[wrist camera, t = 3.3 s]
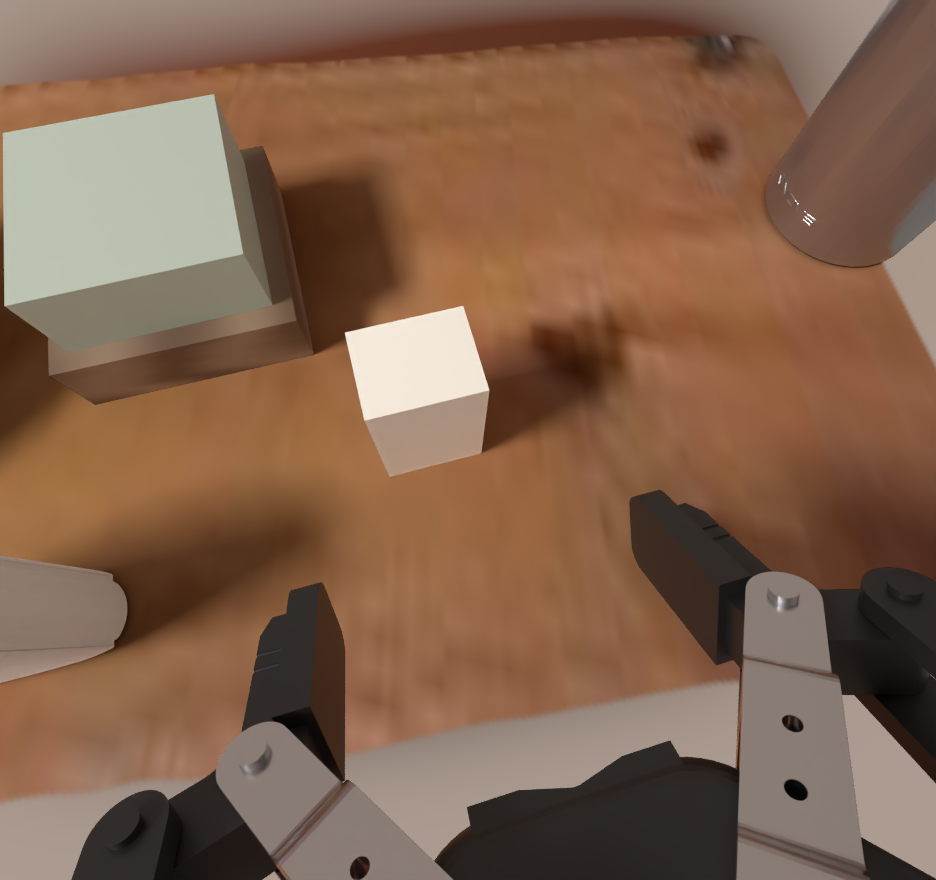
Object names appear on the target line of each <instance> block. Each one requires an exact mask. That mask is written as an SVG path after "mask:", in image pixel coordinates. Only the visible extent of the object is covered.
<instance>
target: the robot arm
mask: <svg viewBox="0 0 936 880" xmlns="http://www.w3.org/2000/svg"><path fill="white" fill-rule="evenodd" d="M765 201H766V207H767V211H768V213H769V215H770V217H771V220H772V222H773V223H774V225H775V226H776V227H777V229H778V230H779V232H780V233H781V234H782V235H783V236H784V237H785V238H786V239H787V240H788V241H789V242H790V243H791V244H793V245H794V246H796V247H797V248H798V249H800V250H801V251H803V252H804V253H806V254H808V255H810V256H812V257H814V258H817V259H819V260H821V261H825V262H828V263H831V264H835V265H841V266H849V267H859V266H869V265H873V264H878V263H881V262H883V261H885V260H887V259H889V258H891V257H893V256H894V255H895V254H896V253H897V252H899V251H900V250H901V249H902V248H903V247H904V246H906V245H907V244H908V243H909V242H910V241H912V240H913V239H914V238H915V237H916V236H917V235H919V234H920V233H921V232H922V231H924V230H925V229H926V228H927V227H928V226H929V225H931V224H932V223H933V222H934V221H935V220H936V0H890V2H889V3H888V5H887V6H886V8H885V9H884V11H883V12H882V14H881V15H880V16H879V18H878V19H877V21H876V23H875V24H874V25H873V27H872V28H871V30H870V31H869V32H868V34H867V35H866V37H865V38H864V40H863V41H862V43H861V44H860V46H859V47H858V49H857V50H856V51H855V53H854V55H853V56H852V57H851V59H850V60H849V62H848V63H847V65H846V66H845V68H844V69H843V70H842V72H841V73H840V75H839V76H838V78H837V79H836V81H835V82H834V84H833V85H832V86H831V88H830V90H829V91H828V92H827V94H826V95H825V97H824V98H823V100H822V101H821V103H820V104H819V105H818V107H817V108H816V110H815V111H814V113H813V114H812V116H811V117H810V118H809V120H808V121H807V123H806V124H805V126H804V127H803V128H802V130H801V131H800V133H799V134H798V136H797V137H796V139H795V140H794V142H793V143H792V145H791V146H790V147H789V149H788V150H787V152H786V153H785V155H784V156H783V158H782V159H781V161H780V162H779V163H778V165H777V166H776V168H775V169H774V171H773V172H772V174H771V175H770V177H769V180H768V182H767V185H766V191H765ZM630 523H631V542H632V550H633V553H634V557H635V559H636V561H637V563H638V565H639V567H640V568H641V570H642V571H643V572H644V574H645V575H646V576H647V578H648V579H649V580H650V581H651V583H652V584H653V585H654V586H655V588H656V589H657V590H658V592H659V593H660V594H661V595H662V597H663V598H664V599H665V601H666V602H667V603H668V604H669V606H670V607H671V608H672V610H673V611H674V612H675V613H676V615H677V616H678V617H679V618H680V620H681V621H682V622H683V624H684V625H685V626H686V627H687V629H688V630H689V631H690V633H691V634H692V635H693V636H694V638H695V639H696V640H697V641H698V643H699V644H700V645H701V647H702V648H703V649H704V650H705V652H706V653H707V654H708V656H709V657H710V658H711V659H712V661H713V662H714V663H715V665H719V664H722V663H725V662H728V661H731V660H734V661H735V662H736V664H737V665H738V666H739V667H740V678H739V702H738V726H737V749H736V768H733V767H731V766H729V765H726V764H723V763H720V762H716V761H713V760H708V759H703V758H693V757H679V755H678V753H677V752H676V750H675V748H674V746H673V745H672V743H671V741H667V742H664V743H661V744H658V745H655V746H652V747H649V748H646V749H643V750H640V751H636V752H633V753H630V754H627V755H625V756H622V757H620V758H619V759H617V760H616V761H614V762H613V763H612V764H610V765H608V766H607V767H605V768H604V769H603V770H601V771H600V772H598V773H597V774H595V775H594V776H593V777H591V778H589V779H588V780H586V781H585V782H584V783H582V784H581V785H579V786H576V787H573V788H558V789H557V788H556V789H535V790H518V791H515V792H512V793H509V794H506V795H503V796H500V797H497V798H493V799H490V800H488V801H484V802H481V803H478V804H475V805H473V806H469V807H467V810H468V815H469V820H470V826H469V827H468V828H466V829H465V830H463V831H462V832H461V833H459V834H458V835H457V836H456V837H455V838H454V839H453V840H451V842H449V844H448V845H447V846H446V847H445V848H444V849H443V850H442V851H441V852H440V854H439V855H438V856H437V858H436V859H435V861H433V860H432V859H431V858H430V857H429V856H428V855H427V854H426V853H425V852H424V851H423V850H422V849H421V848H420V847H419V846H418V845H417V844H416V843H415V842H414V841H413V840H412V839H411V838H410V837H409V836H408V835H407V834H406V833H405V832H404V831H403V830H401V829H400V828H399V827H398V826H397V825H396V824H395V823H394V822H393V821H392V820H391V819H390V818H389V817H388V816H387V815H386V814H385V813H384V812H383V811H382V810H381V809H380V808H379V807H378V806H377V805H376V804H375V803H374V802H373V801H372V800H371V799H370V798H369V797H368V796H367V795H366V794H364V793H363V792H362V791H361V790H360V789H359V788H358V787H357V786H356V785H355V784H354V783H352V782H351V781H349V780H346V781H345V646H344V640H343V635H342V631H341V628H340V625H339V623H338V620H337V617H336V615H335V612H334V610H333V607H332V605H331V602H330V599H329V597H328V594H327V592H326V589H325V587H324V585H323V583H321V582H320V583H316V584H313V585H309V586H305V587H302V588H298V589H294V590H291V591H290V593H289V598H288V605H287V612H286V614H284V615H280V616H277V617H273V618H272V619H271V620H270V622H269V624H268V625H267V627H266V628H265V630H264V631H263V633H262V634H261V636H260V640H259V646H258V651H257V658H256V661H255V666H254V674H253V676H252V681H251V686H250V692H249V697H248V702H247V707H246V712H245V717H244V722H243V727H242V732H241V733H240V734H239V735H238V736H237V737H235V738H234V739H233V740H232V741H231V742H230V744H229V745H228V746H227V747H226V749H225V750H224V752H223V753H222V755H221V757H220V759H219V762H218V764H217V768H216V770H215V771H214V772H212V773H211V774H210V775H208V776H207V777H205V778H204V779H202V780H201V781H199V782H197V783H196V784H194V785H192V786H191V787H189V788H187V789H186V790H184V791H182V792H181V793H179V794H177V795H176V796H174V797H173V798H171V799H169V800H168V799H167V798H166V797H165V795H164V794H162V793H161V792H158V791H155V790H146V791H142V792H138V793H135V794H134V795H131V796H129V797H127V798H125V799H124V800H122V801H121V802H119V803H118V804H116V805H115V806H114V807H113V808H112V809H110V810H109V811H108V812H107V813H106V814H105V815H104V816H103V817H102V818H101V819H100V820H99V822H98V823H97V824H96V825H95V827H94V828H93V829H92V831H91V833H90V834H89V836H88V838H87V840H86V842H85V844H84V846H83V849H82V851H81V854H80V857H79V860H78V863H77V866H76V868H75V871H74V874H73V877H72V880H262V879H264V878H265V877H267V876H268V875H270V874H271V873H272V872H275V873H276V875H277V876H278V878H279V879H280V880H936V879H935V878H933V877H932V876H930V875H928V874H926V873H924V872H923V871H921V870H919V869H917V868H915V867H914V866H912V865H910V864H908V863H906V862H905V861H903V860H901V859H899V858H897V857H896V856H894V855H892V854H890V853H888V852H887V851H885V850H883V849H881V848H879V847H878V846H876V845H874V844H872V843H871V842H868V841H867V840H865V839H863V838H861V835H860V827H859V820H858V813H857V804H856V797H855V789H854V782H853V774H852V767H851V760H850V753H849V745H848V737H847V730H846V722H845V715H844V707H843V700H842V695H855V696H856V697H857V698H858V700H859V701H860V702H861V703H862V704H863V705H864V706H865V707H866V708H867V709H868V710H869V712H870V713H871V714H872V715H873V716H874V717H875V718H876V719H877V720H878V721H879V722H880V723H881V724H882V726H883V727H884V728H885V729H886V730H887V731H888V732H889V733H890V734H891V735H892V736H893V737H894V739H895V740H896V741H897V742H898V743H899V744H900V745H901V746H902V747H903V748H904V749H905V750H906V752H907V753H908V754H909V755H910V756H911V757H912V758H913V759H914V760H915V761H916V762H917V763H918V765H920V767H921V768H922V769H923V770H924V771H925V772H926V773H927V774H928V775H929V776H930V777H931V779H932V780H934V782H935V783H936V680H935V679H936V582H935V581H933V580H932V579H930V578H928V577H926V576H924V575H922V574H919V573H917V572H913V571H910V570H906V569H901V568H892V567H884V568H877V569H873V570H870V571H869V572H867V573H866V574H865V575H864V576H863V578H862V581H861V587H860V589H837V590H817V588H816V587H814V586H813V585H812V584H811V583H809V582H808V581H806V580H804V579H803V578H801V577H798V576H796V575H792V574H789V573H784V572H772V571H771V570H770V569H768V568H767V567H766V566H765V565H764V564H763V563H762V562H761V561H759V560H758V559H757V558H756V557H755V556H754V555H753V554H752V553H750V552H749V551H748V550H747V549H746V548H745V547H744V546H743V545H741V544H740V543H739V542H738V541H737V540H736V539H735V538H734V537H730V535H729V533H728V532H727V531H726V530H725V529H724V528H722V527H721V526H720V527H719V525H718V523H717V522H716V521H715V520H713V519H712V518H711V517H710V516H709V515H708V514H707V513H706V512H704V511H702V510H700V509H697V508H695V507H693V506H691V505H688V504H686V503H684V504H680V505H677V504H676V503H674V502H673V501H672V500H671V499H670V498H669V497H668V496H667V495H666V494H665V493H664V492H663V491H661V490H657V491H653V492H650V493H646V494H642V495H639V496H635V497H632V498H631V499H630ZM930 674H931V675H932V676H933V677H934V678H935V679H934V678H933V677H932V676H931V675H930ZM343 781H345V782H344V783H342V782H343Z"/></svg>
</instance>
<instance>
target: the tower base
mask: <svg viewBox="0 0 936 880" xmlns="http://www.w3.org/2000/svg"><path fill="white" fill-rule="evenodd" d="M240 152H241V155H242V157H243V159H244V163H245V168H246V173H247V178H248V183H249V188H250V193H251V198H252V203H253V208H254V213H255V218H256V223H257V229H258V234H259V239H260V244H261V249H262V254H263V259H264V264H265V269H266V274H267V279H268V284H269V289H270V294H271V300H272V306H268V307H264V308H259V309H255V310H251V311H246V312H242V313H238V314H233V315H229V316H225V317H220V318H216V319H212V320H207V321H203V322H199V323H194V324H190V325H186V326H181V327H177V328H173V329H168V330H164V331H160V332H155V333H151V334H147V335H142V336H138V337H134V338H129V339H125V340H120V341H116V342H112V343H107V344H103V345H99V346H94V347H90V348H86V349H81V350H77V351H73V352H68V351H67V350H65V349H64V348H62V347H61V346H60V345H58V344H57V343H55V342H54V341H53V340H51V339H50V338H48V367H49V376H50V377H51V378H53V379H55V380H56V381H58V382H59V383H61V384H63V385H64V386H66V387H68V388H69V389H71V390H72V391H74V392H76V393H77V394H79V395H80V396H82V397H84V398H85V399H87V400H88V401H90V402H92V403H93V404H95V405H96V404H101V403H105V402H109V401H114V400H118V399H123V398H127V397H131V396H136V395H140V394H144V393H149V392H153V391H157V390H162V389H166V388H171V387H175V386H179V385H184V384H188V383H192V382H197V381H201V380H205V379H210V378H214V377H219V376H223V375H227V374H232V373H236V372H240V371H245V370H249V369H253V368H258V367H262V366H267V365H271V364H275V363H280V362H284V361H288V360H293V359H297V358H301V357H306V356H310V355H314V351H313V346H312V341H311V336H310V331H309V326H308V321H307V316H306V312H305V307H304V302H303V297H302V292H301V287H300V282H299V277H298V272H297V267H296V262H295V257H294V252H293V247H292V242H291V237H290V232H289V228H288V223H287V218H286V213H285V208H284V203H283V198H282V193H281V190H280V188H279V186H278V183H277V181H276V178H275V176H274V173H273V171H272V168H271V166H270V163H269V161H268V158H267V156H266V154H265V151H264V149H263V146H259V147H254V148H249V149H243V150H240Z"/></svg>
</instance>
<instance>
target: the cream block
mask: <svg viewBox="0 0 936 880" xmlns="http://www.w3.org/2000/svg"><path fill="white" fill-rule="evenodd" d="M345 336H346V340H347V345H348V349H349V354H350V358H351V362H352V367H353V371H354V376H355V380H356V385H357V389H358V394H359V398H360V402H361V407H362V411H363V416H364V420H365V423H366V425H367V427H368V429H369V432H370V434H371V436H372V438H373V441H374V443H375V445H376V447H377V450H378V452H379V454H380V456H381V459H382V461H383V463H384V465H385V468H386V470H387V472H388V474H389V477H391V476H395V475H399V474H403V473H406V472H410V471H414V470H418V469H422V468H426V467H430V466H434V465H438V464H442V463H446V462H450V461H453V460H457V459H461V458H465V457H469V456H473V455H477V454H481V451H482V444H483V436H484V428H485V421H486V413H487V405H488V397H489V387H488V384H487V381H486V378H485V375H484V371H483V368H482V365H481V362H480V359H479V356H478V352H477V349H476V346H475V343H474V340H473V336H472V333H471V330H470V327H469V324H468V320H467V317H466V314H465V311H464V308H463V306H461V307H456V308H452V309H447V310H443V311H439V312H434V313H430V314H425V315H421V316H416V317H412V318H407V319H403V320H399V321H394V322H390V323H385V324H381V325H376V326H372V327H367V328H363V329H359V330H354V331H350V332H345Z"/></svg>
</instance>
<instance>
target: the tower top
mask: <svg viewBox="0 0 936 880" xmlns="http://www.w3.org/2000/svg"><path fill="white" fill-rule="evenodd" d="M3 195H4V306H5V307H6V308H8V309H9V310H10V311H12V312H13V313H15V314H16V315H17V316H19V317H20V318H22V319H23V320H25V321H26V322H27V323H29V324H30V325H32V326H33V327H34V328H36V329H37V330H39V331H40V332H41V333H43V334H44V335H46V336H47V337H48V338H50V339H51V340H53V341H54V342H55V343H57V344H58V345H60V346H61V347H62V348H64V349H65V350H67V351H68V352H73V351H77V350H81V349H86V348H90V347H94V346H99V345H103V344H107V343H112V342H116V341H120V340H125V339H129V338H134V337H138V336H142V335H147V334H151V333H155V332H160V331H164V330H168V329H173V328H177V327H181V326H186V325H190V324H194V323H199V322H203V321H207V320H212V319H216V318H220V317H225V316H229V315H233V314H238V313H242V312H246V311H251V310H255V309H259V308H264V307H268V306H272V300H271V294H270V289H269V284H268V279H267V274H266V269H265V264H264V259H263V254H262V249H261V244H260V239H259V234H258V229H257V223H256V218H255V213H254V208H253V203H252V198H251V193H250V188H249V183H248V178H247V173H246V168H245V163H244V159H243V157H242V155H241V152H240V150H239V148H238V146H237V144H236V141H235V139H234V137H233V135H232V133H231V130H230V128H229V126H228V124H227V122H226V119H225V117H224V115H223V113H222V111H221V109H220V106H219V104H218V102H217V100H216V98H215V95H214V94H212V95H207V96H202V97H196V98H191V99H185V100H180V101H175V102H169V103H164V104H158V105H153V106H148V107H142V108H137V109H131V110H126V111H121V112H115V113H110V114H104V115H99V116H93V117H88V118H83V119H77V120H72V121H66V122H61V123H56V124H50V125H45V126H39V127H34V128H29V129H23V130H18V131H12V132H7V133H3Z"/></svg>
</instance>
